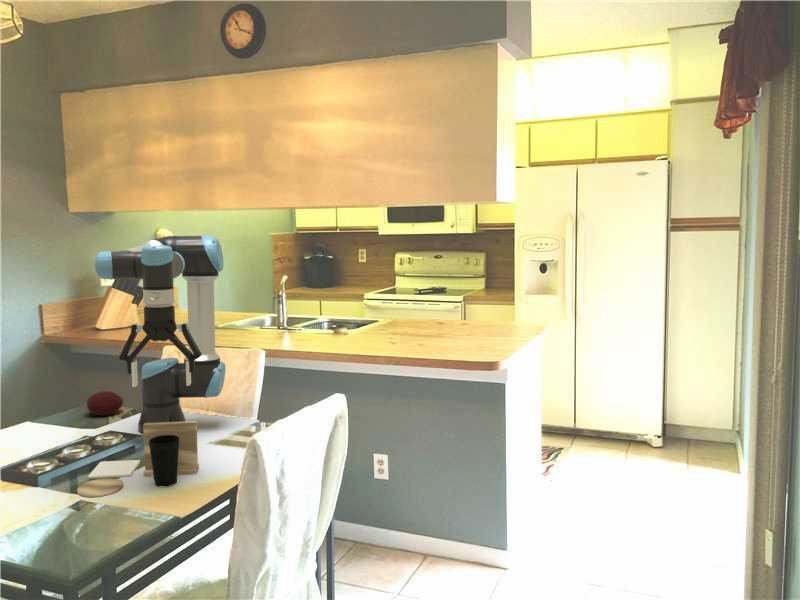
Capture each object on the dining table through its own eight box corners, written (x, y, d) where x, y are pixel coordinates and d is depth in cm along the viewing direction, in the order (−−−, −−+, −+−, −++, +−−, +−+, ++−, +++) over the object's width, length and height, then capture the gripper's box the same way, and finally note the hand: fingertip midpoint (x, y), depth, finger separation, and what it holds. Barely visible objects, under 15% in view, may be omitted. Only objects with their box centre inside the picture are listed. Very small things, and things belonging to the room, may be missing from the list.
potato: (80, 417, 232) (79, 394, 231) (99, 408, 243) (98, 387, 242) (110, 419, 230) (109, 396, 229) (128, 410, 241) (127, 388, 240)
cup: (171, 489, 171) (169, 445, 170) (144, 487, 173) (142, 443, 171) (186, 478, 179) (184, 435, 177) (160, 476, 180) (159, 433, 179)
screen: (148, 469, 185) (146, 421, 183) (199, 466, 187) (197, 419, 185) (143, 475, 180) (141, 426, 178) (196, 473, 182) (194, 424, 180)
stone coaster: (100, 463, 189) (100, 461, 189) (140, 461, 190) (140, 459, 190) (88, 478, 178) (87, 476, 178) (130, 476, 180) (130, 474, 180)
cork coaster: (85, 481, 176) (85, 479, 176) (128, 479, 178) (128, 477, 178) (71, 498, 165) (70, 496, 165) (116, 496, 167) (116, 493, 167)
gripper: (104, 307, 164) (108, 390, 167) (206, 306, 168) (208, 387, 170) (112, 303, 172) (116, 382, 174) (210, 302, 175) (212, 380, 178)
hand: (162, 385), depth 172 cm, fingers open, 13 cm apart
